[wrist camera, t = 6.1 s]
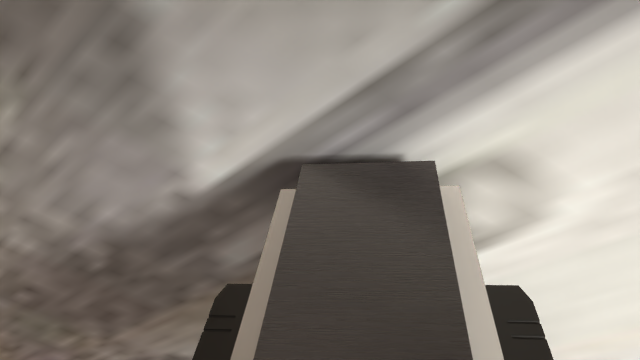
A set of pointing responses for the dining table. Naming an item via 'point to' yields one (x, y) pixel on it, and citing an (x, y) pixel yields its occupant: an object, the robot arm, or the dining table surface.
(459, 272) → the robot arm
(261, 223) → the dining table surface
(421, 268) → the grey post with bar
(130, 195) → the dining table surface
